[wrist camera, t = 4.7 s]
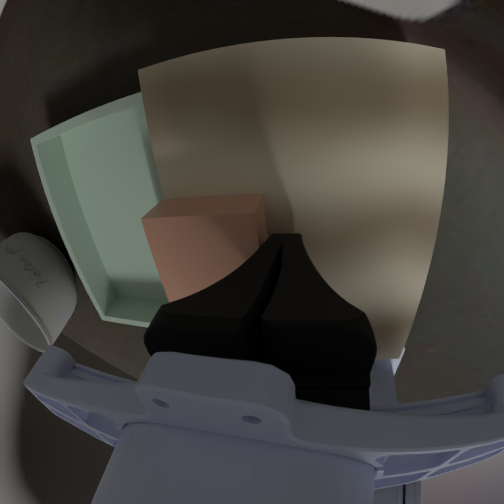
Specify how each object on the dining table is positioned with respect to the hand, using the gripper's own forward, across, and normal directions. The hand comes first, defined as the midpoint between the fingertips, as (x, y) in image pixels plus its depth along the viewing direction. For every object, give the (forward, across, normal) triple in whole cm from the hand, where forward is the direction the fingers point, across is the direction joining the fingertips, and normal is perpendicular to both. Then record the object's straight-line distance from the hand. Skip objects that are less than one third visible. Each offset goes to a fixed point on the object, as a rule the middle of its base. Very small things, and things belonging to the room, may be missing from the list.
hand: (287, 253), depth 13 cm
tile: (+1, +4, 0) cm, 4 cm away
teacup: (+5, +26, +4) cm, 27 cm away
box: (+5, +11, 0) cm, 12 cm away
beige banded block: (+5, -1, 0) cm, 5 cm away
